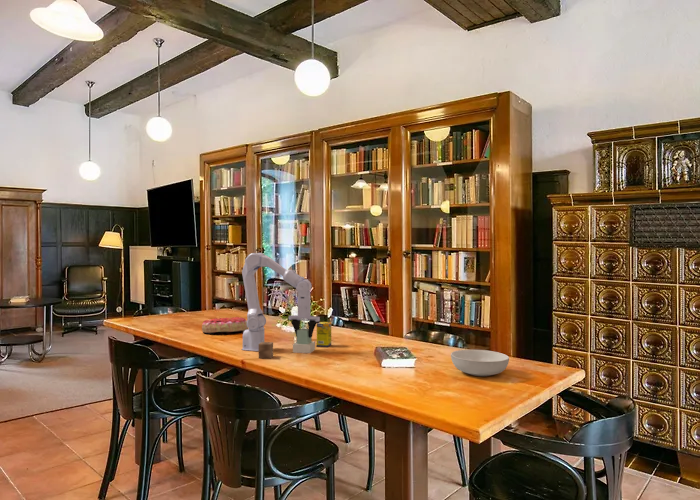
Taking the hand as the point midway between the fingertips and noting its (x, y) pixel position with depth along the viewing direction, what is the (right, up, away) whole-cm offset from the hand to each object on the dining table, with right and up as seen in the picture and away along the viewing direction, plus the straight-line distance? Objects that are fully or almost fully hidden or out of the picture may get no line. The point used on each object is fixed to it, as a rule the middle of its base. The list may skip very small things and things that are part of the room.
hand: (304, 336), depth 225 cm
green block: (0, -3, 0) cm, 3 cm away
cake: (-49, -7, +52) cm, 72 cm away
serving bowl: (+69, -7, -40) cm, 80 cm away
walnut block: (-15, -7, -13) cm, 21 cm away
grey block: (0, -7, 0) cm, 7 cm away
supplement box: (+8, -7, +12) cm, 16 cm away
